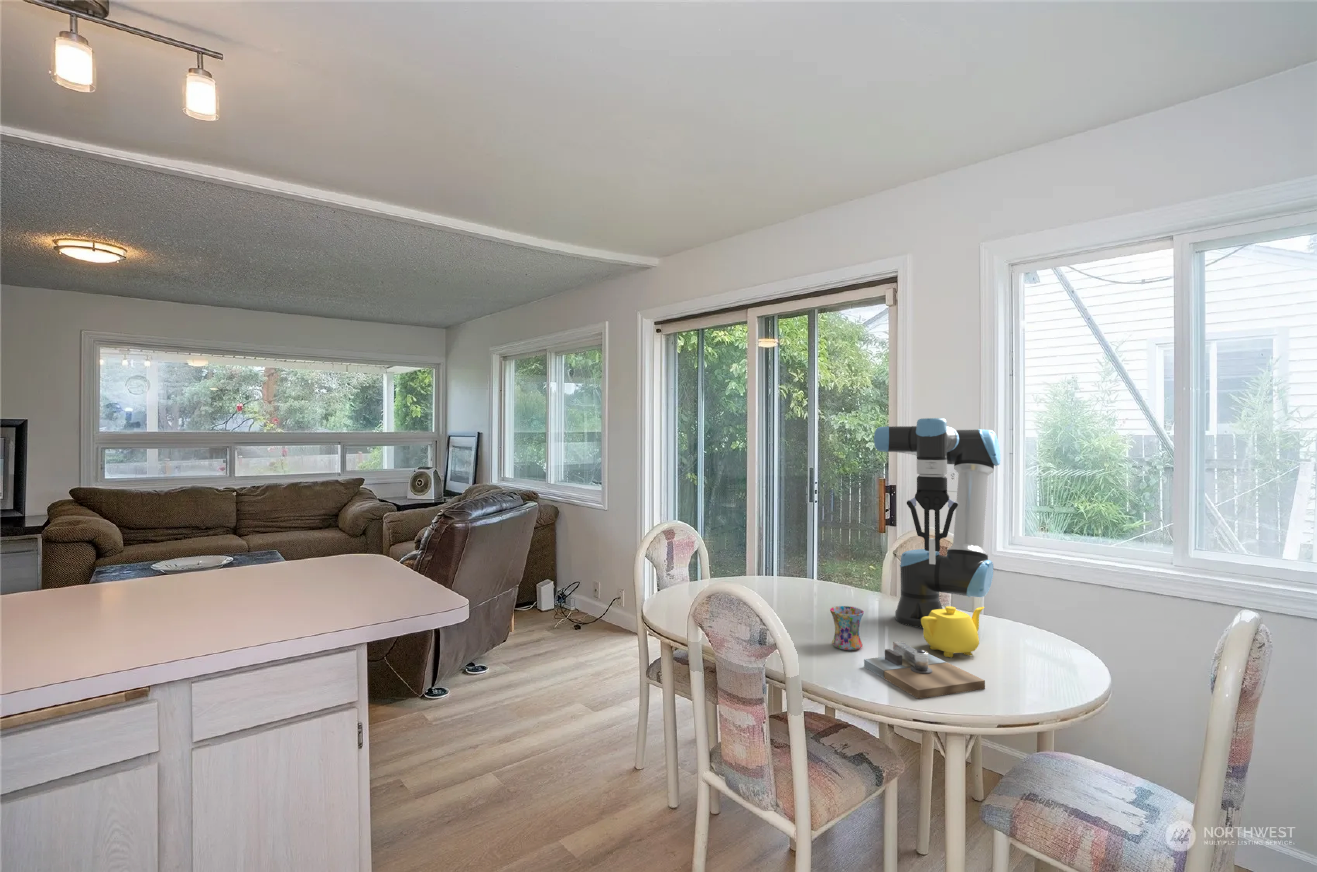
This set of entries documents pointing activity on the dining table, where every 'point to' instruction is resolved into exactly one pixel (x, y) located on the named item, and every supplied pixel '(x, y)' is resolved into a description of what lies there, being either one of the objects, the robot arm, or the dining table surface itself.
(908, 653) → the latch bar
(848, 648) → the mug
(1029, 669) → the dining table surface
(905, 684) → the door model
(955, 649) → the teapot
